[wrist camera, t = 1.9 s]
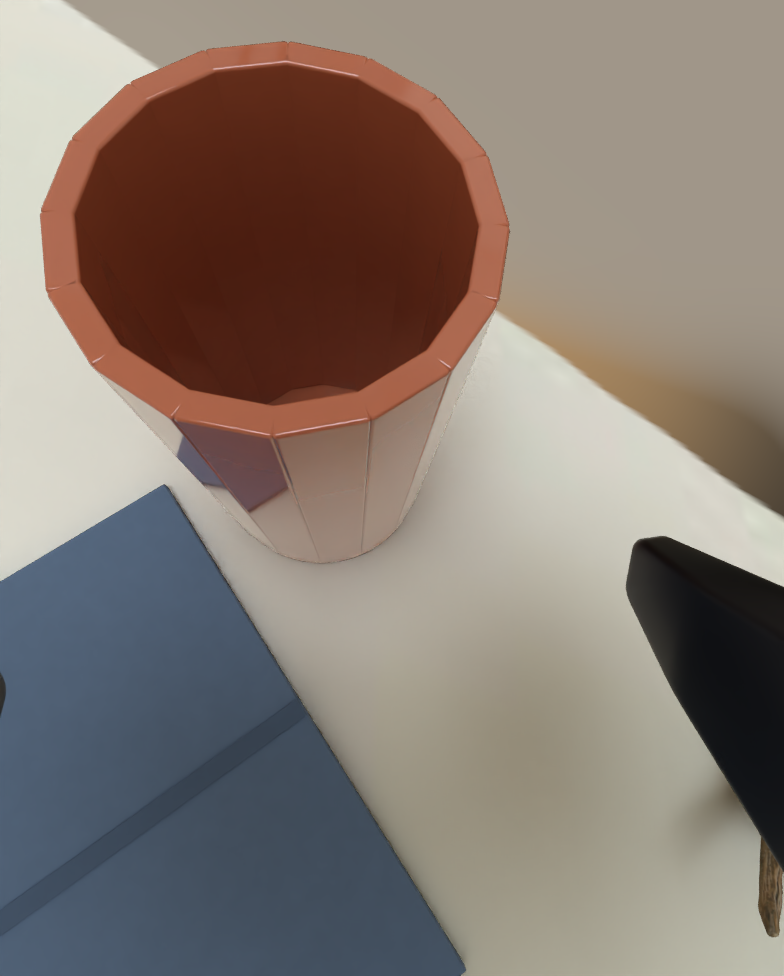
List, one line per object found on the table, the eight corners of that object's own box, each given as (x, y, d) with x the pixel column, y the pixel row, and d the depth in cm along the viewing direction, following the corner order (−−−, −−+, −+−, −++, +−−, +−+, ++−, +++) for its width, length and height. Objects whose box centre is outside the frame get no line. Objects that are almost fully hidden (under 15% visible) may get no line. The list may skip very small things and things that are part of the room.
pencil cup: (455, 493, 21) (598, 280, 9) (293, 602, 20) (192, 532, 8) (349, 349, 23) (345, -15, 10) (190, 442, 21) (-41, 154, 9)
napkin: (464, 964, 18) (467, 972, 17) (99, 1284, 15) (90, 1305, 15) (167, 486, 21) (163, 482, 20) (-172, 689, 18) (-186, 690, 18)
